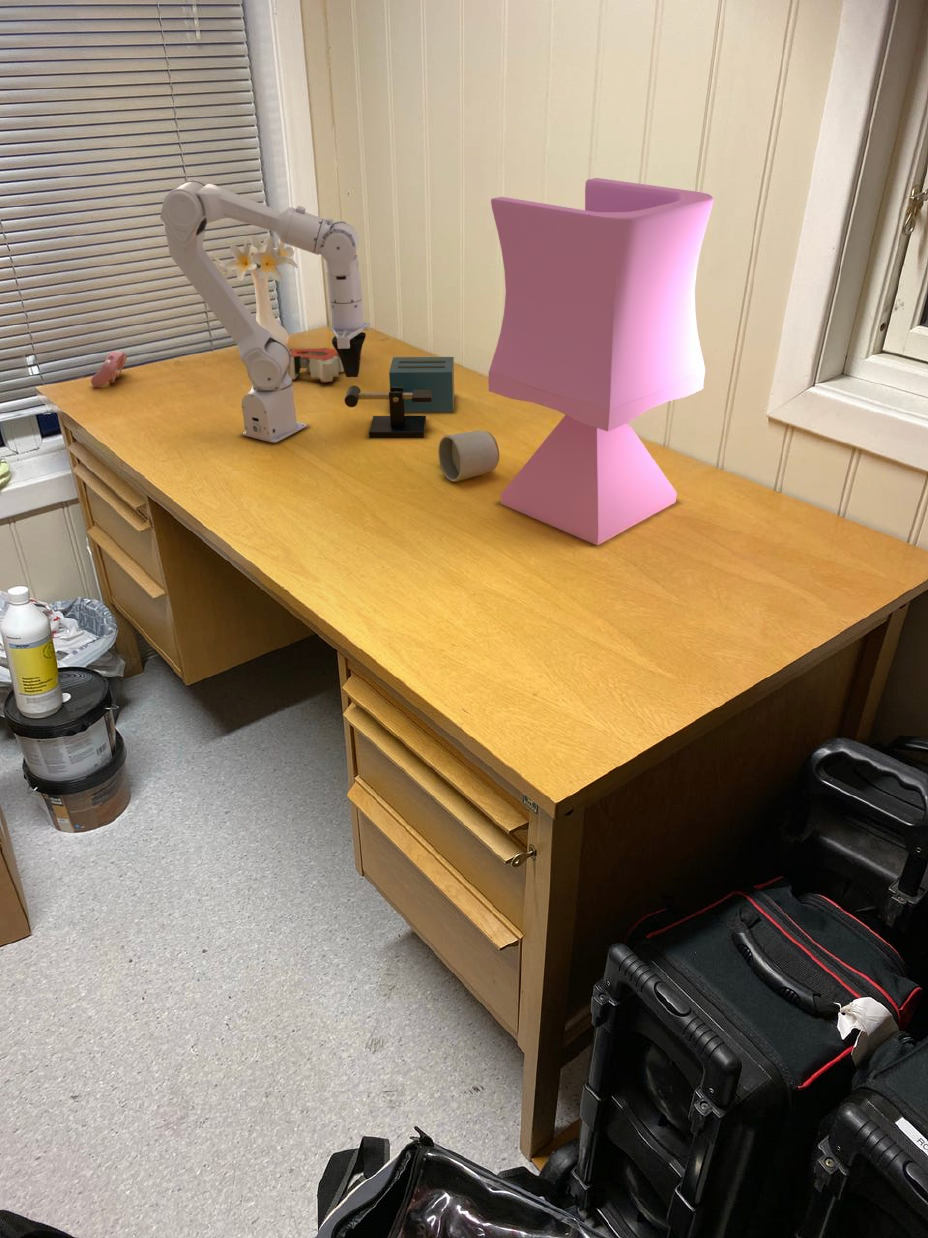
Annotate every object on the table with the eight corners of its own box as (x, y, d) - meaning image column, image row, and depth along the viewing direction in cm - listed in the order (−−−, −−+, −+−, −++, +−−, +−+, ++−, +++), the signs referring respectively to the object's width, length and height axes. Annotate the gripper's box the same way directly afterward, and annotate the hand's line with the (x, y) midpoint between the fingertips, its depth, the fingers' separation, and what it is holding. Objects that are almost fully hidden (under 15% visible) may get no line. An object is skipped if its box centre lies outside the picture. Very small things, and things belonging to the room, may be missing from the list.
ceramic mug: (502, 476, 159) (502, 433, 155) (461, 488, 155) (460, 444, 151) (468, 456, 166) (467, 414, 162) (428, 467, 163) (426, 424, 159)
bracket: (369, 438, 174) (366, 397, 169) (373, 421, 180) (370, 382, 176) (423, 437, 173) (422, 397, 169) (426, 421, 180) (424, 381, 176)
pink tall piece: (578, 461, 164) (595, 177, 139) (688, 502, 150) (728, 195, 125) (488, 503, 151) (488, 198, 126) (599, 552, 137) (623, 220, 113)
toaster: (391, 412, 184) (388, 371, 180) (395, 396, 192) (392, 356, 187) (453, 412, 184) (452, 371, 179) (454, 395, 191) (453, 356, 187)
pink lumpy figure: (110, 395, 198) (118, 365, 195) (88, 385, 197) (96, 355, 194) (125, 379, 207) (133, 350, 203) (104, 369, 206) (112, 341, 202)
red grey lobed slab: (357, 360, 215) (270, 368, 207) (356, 336, 212) (268, 343, 204) (384, 380, 201) (292, 389, 193) (384, 355, 198) (291, 363, 191)
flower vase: (217, 356, 214) (199, 239, 200) (289, 339, 223) (276, 227, 210) (244, 371, 205) (226, 249, 192) (318, 353, 215) (306, 236, 201)
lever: (344, 407, 172) (343, 394, 171) (348, 397, 176) (347, 385, 175) (431, 406, 172) (431, 394, 170) (432, 397, 176) (432, 384, 175)
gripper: (364, 310, 158) (370, 389, 165) (372, 287, 170) (378, 362, 177) (321, 311, 158) (330, 390, 165) (333, 288, 170) (340, 363, 178)
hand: (352, 375), depth 171 cm, fingers closed
